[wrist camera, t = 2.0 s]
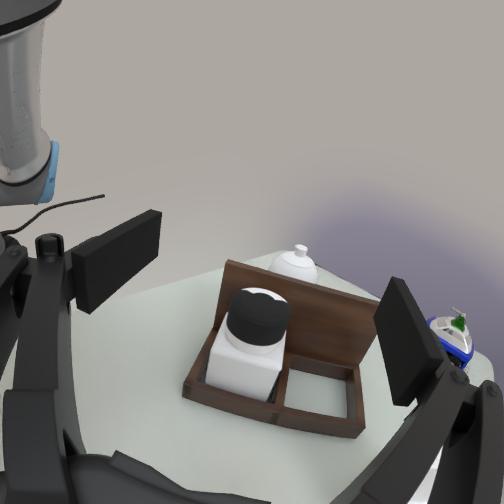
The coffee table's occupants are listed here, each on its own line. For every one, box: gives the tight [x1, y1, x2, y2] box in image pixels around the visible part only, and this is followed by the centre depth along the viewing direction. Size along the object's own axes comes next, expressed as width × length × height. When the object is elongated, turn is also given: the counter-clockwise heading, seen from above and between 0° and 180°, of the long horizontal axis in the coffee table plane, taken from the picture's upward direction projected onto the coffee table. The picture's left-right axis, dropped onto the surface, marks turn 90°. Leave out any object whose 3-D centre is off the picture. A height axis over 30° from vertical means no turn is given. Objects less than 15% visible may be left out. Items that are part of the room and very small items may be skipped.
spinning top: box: [269, 245, 318, 284], centre depth 45 cm, size 8×8×12 cm
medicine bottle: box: [205, 288, 291, 402], centre depth 30 cm, size 7×7×12 cm
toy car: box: [426, 306, 474, 370], centre depth 41 cm, size 9×12×10 cm
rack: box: [182, 259, 380, 439], centre depth 30 cm, size 12×20×12 cm, turn 79°
